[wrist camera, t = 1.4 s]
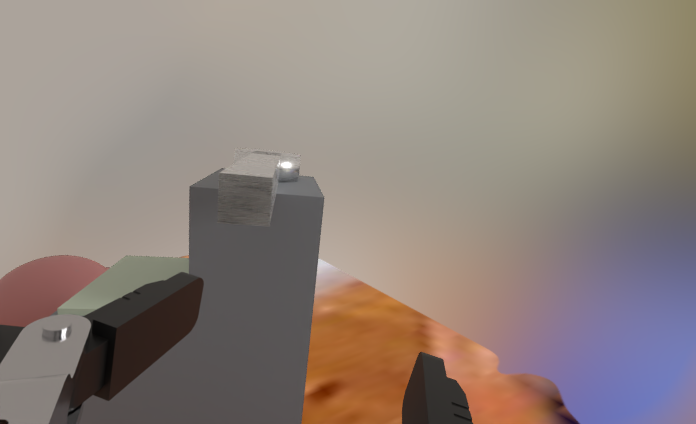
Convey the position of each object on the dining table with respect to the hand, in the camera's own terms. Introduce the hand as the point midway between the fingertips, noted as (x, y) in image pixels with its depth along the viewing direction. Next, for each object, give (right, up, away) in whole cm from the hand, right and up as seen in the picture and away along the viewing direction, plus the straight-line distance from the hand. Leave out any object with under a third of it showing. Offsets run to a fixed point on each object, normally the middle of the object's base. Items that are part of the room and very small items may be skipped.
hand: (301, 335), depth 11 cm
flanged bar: (-6, +6, +15) cm, 18 cm away
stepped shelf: (-15, -23, +25) cm, 37 cm away
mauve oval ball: (-41, -17, +40) cm, 60 cm away
